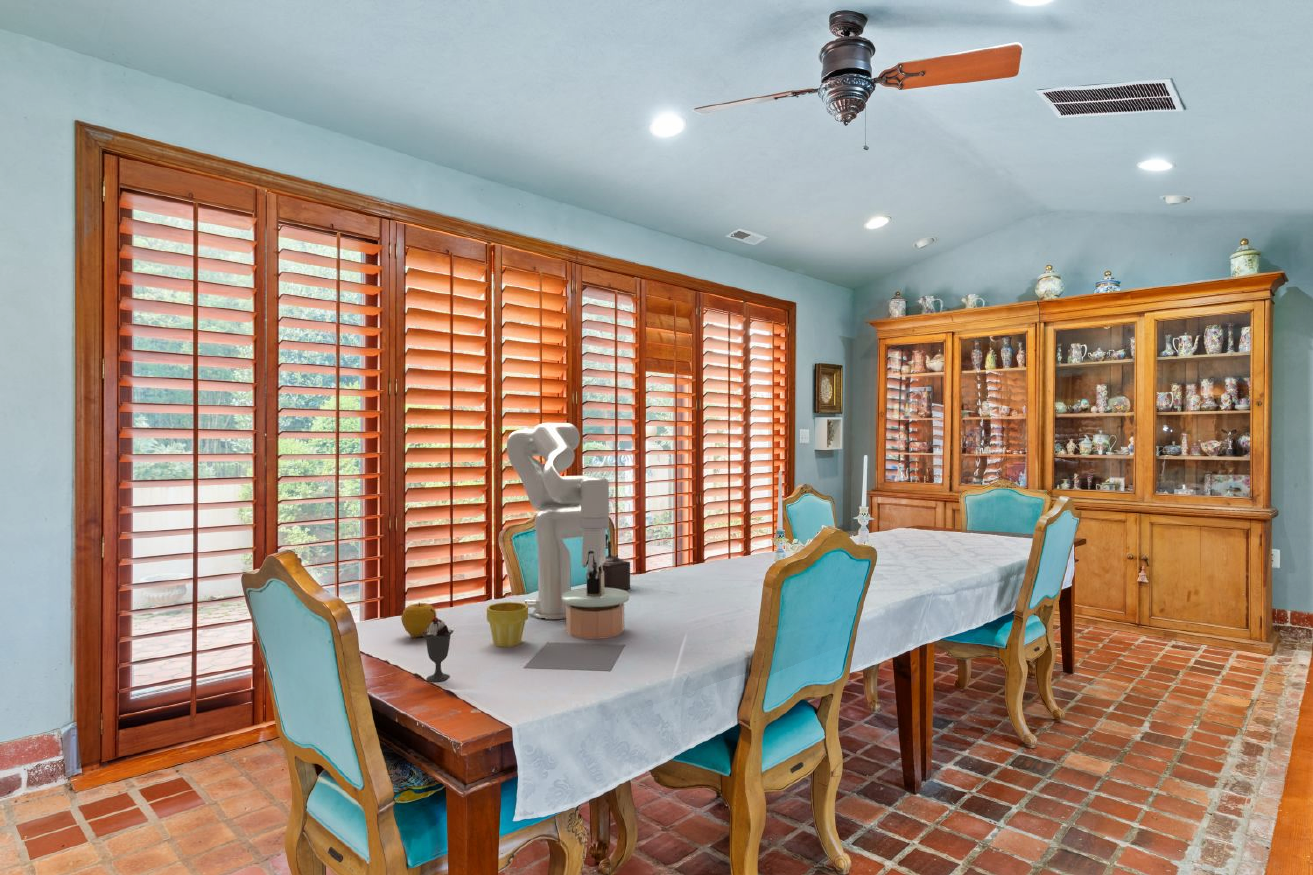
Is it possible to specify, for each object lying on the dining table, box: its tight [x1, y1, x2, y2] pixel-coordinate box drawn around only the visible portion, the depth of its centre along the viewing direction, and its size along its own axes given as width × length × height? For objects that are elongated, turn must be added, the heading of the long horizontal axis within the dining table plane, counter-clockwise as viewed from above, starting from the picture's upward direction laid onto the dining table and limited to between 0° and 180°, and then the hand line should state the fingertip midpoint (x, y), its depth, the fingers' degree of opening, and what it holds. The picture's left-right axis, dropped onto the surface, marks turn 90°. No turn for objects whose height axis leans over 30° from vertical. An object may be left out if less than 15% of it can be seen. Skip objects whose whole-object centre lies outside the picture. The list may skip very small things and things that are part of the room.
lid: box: [562, 571, 630, 607], centre depth 192 cm, size 18×18×7 cm
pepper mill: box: [602, 533, 631, 591], centre depth 249 cm, size 16×11×18 cm
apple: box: [400, 602, 437, 638], centre depth 189 cm, size 9×9×9 cm
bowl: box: [565, 603, 625, 640], centre depth 192 cm, size 15×15×8 cm
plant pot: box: [486, 601, 529, 648], centre depth 181 cm, size 10×10×10 cm
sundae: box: [422, 609, 454, 683], centre depth 156 cm, size 7×7×15 cm
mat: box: [523, 641, 626, 672], centre depth 170 cm, size 20×20×1 cm
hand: (595, 590), depth 192 cm, fingers closed on lid, 3 cm apart
